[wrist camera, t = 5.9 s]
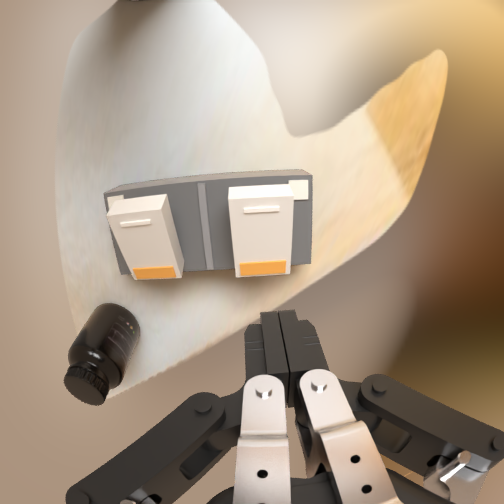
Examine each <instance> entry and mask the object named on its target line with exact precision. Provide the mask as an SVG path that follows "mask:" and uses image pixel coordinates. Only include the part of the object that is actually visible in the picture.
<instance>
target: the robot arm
mask: <svg viewBox="0 0 504 504" xmlns="http://www.w3.org/2000/svg"><path fill="white" fill-rule="evenodd" d="M133 1H137V0H133ZM260 319H261V324H252V325H249V326H248V327H247V329H246V331H245V334H244V335H245V364H246V381H245V384H244V385H243V387H242V388H241V389H240V390H238V391H237V392H235V393H233V394H231V395H228V396H225V397H221V398H219V397H218V396H217V395H215V394H212V393H208V392H201V393H197V394H194V395H192V396H191V397H189V398H188V399H187V400H186V401H184V402H183V403H182V404H181V405H180V406H178V407H177V408H176V409H175V410H174V411H172V412H171V413H170V414H169V415H168V416H167V417H165V418H164V419H163V420H162V421H161V422H159V423H158V424H157V425H155V426H154V427H153V428H152V429H150V430H149V431H148V432H147V433H145V434H144V435H143V436H141V437H140V438H139V439H138V440H136V441H135V442H134V443H132V444H131V445H130V446H128V447H127V448H126V449H124V450H123V451H122V452H120V453H119V454H118V455H116V456H115V457H114V458H112V459H111V460H109V461H108V462H107V463H105V464H104V465H102V466H101V467H100V468H98V469H97V470H95V471H94V472H92V473H91V474H89V475H88V476H87V477H85V478H84V479H82V480H81V481H79V482H78V483H76V484H74V485H73V486H72V487H70V488H69V490H68V491H67V493H66V504H172V503H173V502H175V501H176V500H177V499H178V498H179V497H180V496H182V495H183V494H184V493H185V492H186V491H187V490H189V489H190V488H191V487H192V486H193V485H194V484H195V483H196V482H197V481H198V480H200V479H201V478H202V477H203V476H204V475H205V474H206V473H207V472H208V471H209V470H210V469H211V468H212V467H213V466H214V465H215V464H216V463H217V462H218V461H219V460H220V459H221V458H222V457H223V456H224V455H225V454H226V453H227V452H228V451H229V450H230V449H231V447H234V446H237V457H236V470H235V484H234V486H233V487H230V488H228V489H226V490H224V491H222V492H220V493H219V494H217V495H216V496H214V497H213V498H212V499H211V500H210V501H209V502H208V503H207V504H474V502H475V500H476V498H477V495H478V494H479V492H480V489H481V487H482V485H483V483H484V481H485V478H486V476H487V473H488V471H489V470H490V469H491V468H492V467H494V466H495V465H496V464H497V463H499V462H500V461H501V460H502V459H503V458H504V432H503V431H501V430H499V429H496V428H494V427H492V426H489V425H487V424H485V423H483V422H480V421H478V420H476V419H474V418H471V417H469V416H467V415H465V414H463V413H461V412H459V411H456V410H454V409H452V408H450V407H448V406H446V405H444V404H442V403H440V402H438V401H435V400H433V399H431V398H429V397H427V396H425V395H423V394H421V393H419V392H417V391H415V390H413V389H411V388H409V387H407V386H405V385H403V384H402V383H400V382H398V381H396V380H394V379H392V378H390V377H388V376H386V375H382V374H374V375H370V376H368V377H367V378H365V379H364V381H363V382H362V383H358V382H347V381H343V380H340V379H338V378H337V377H336V376H335V375H334V374H333V373H331V372H330V370H329V368H328V365H327V362H326V359H325V356H324V353H323V350H322V347H321V345H320V342H319V338H318V337H317V333H316V330H315V327H314V326H313V325H312V324H311V323H310V322H309V321H308V320H300V321H298V319H297V316H296V312H295V310H284V311H278V314H277V311H273V312H260ZM286 405H288V408H290V407H294V408H295V414H296V417H295V425H296V429H297V432H298V436H299V440H300V443H301V447H302V451H303V454H304V458H305V464H306V475H307V479H301V478H290V465H289V444H288V436H287V431H286V411H285V408H286ZM379 453H380V454H382V455H384V456H386V457H388V458H389V459H391V460H393V461H395V462H397V463H399V464H400V465H402V466H404V467H406V468H408V469H410V470H412V471H414V472H416V473H418V474H420V475H422V476H424V479H423V481H424V488H423V487H421V486H420V485H418V484H416V483H414V482H412V481H411V480H409V479H407V478H405V477H404V476H402V475H400V474H398V473H397V472H395V471H393V470H390V469H388V468H385V466H384V464H383V462H382V459H381V457H380V455H379Z"/></svg>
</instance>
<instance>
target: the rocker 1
mask: <svg viewBox="0 0 504 504" xmlns="http://www.w3.org/2000/svg"><path fill="white" fill-rule="evenodd" d="M106 217H107V219H108V222H109V224H110V227H111V229H112V231H113V234H114V236H115V239H116V241H117V243H118V245H119V248H120V250H121V252H122V254H123V257H124V259H125V261H126V263H127V265H128V267H129V270H130V272H131V274H132V276H133V278H134V280H150V279H173V278H182V273H183V267H184V258H183V255H182V251H181V247H180V244H179V240H178V236H177V233H176V229H175V225H174V221H173V217H172V213H171V209H170V205H169V201H168V197H167V194H162V195H153V196H145V197H137V198H130V199H122V200H115V201H114V203H113V205H112V206H111V208H110V210H109V212H108V213H107V215H106Z"/></svg>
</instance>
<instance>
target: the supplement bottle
mask: <svg viewBox="0 0 504 504" xmlns="http://www.w3.org/2000/svg"><path fill="white" fill-rule="evenodd" d="M139 334H140V329H139V325H138V322H137V320H136V319H135V317H134V316H133V315H132V314H131V313H130V312H129V311H128V310H127V309H125V308H124V307H122V306H120V305H117V304H112V303H106V304H102V305H100V306H98V307H97V308H96V309H95V310H94V312H93V313H92V315H91V316H90V318H89V319H88V321H87V322H86V324H85V325H84V327H83V328H82V330H81V331H80V333H79V335H78V336H77V338H76V339H75V341H74V343H73V344H72V346H71V348H70V350H69V353H68V360H69V364H70V366H69V368H68V370H67V373H66V375H65V377H64V384H65V386H66V388H67V389H68V391H69V392H70V393H71V394H72V395H74V397H76V398H77V399H79V400H81V401H82V402H84V403H87V404H90V405H95V406H97V405H98V406H99V405H101V404H103V403H104V401H105V399H106V396H107V395H108V393H109V390H110V389H113V388H116V387H117V386H118V385H120V383H121V382H122V380H123V377H124V375H125V372H126V369H127V367H128V364H129V361H130V359H131V356H132V353H133V351H134V348H135V346H136V343H137V341H138V338H139Z"/></svg>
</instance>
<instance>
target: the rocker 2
mask: <svg viewBox="0 0 504 504" xmlns="http://www.w3.org/2000/svg"><path fill="white" fill-rule="evenodd" d="M228 203H229V213H230V224H231V234H232V244H233V253H234V263H235V273H236V277H252V276H268V275H282V274H290V267H291V249H292V229H293V206H294V195H293V193H292V190H291V188H290V185H289V184H279V185H257V186H240V187H229V194H228Z"/></svg>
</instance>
